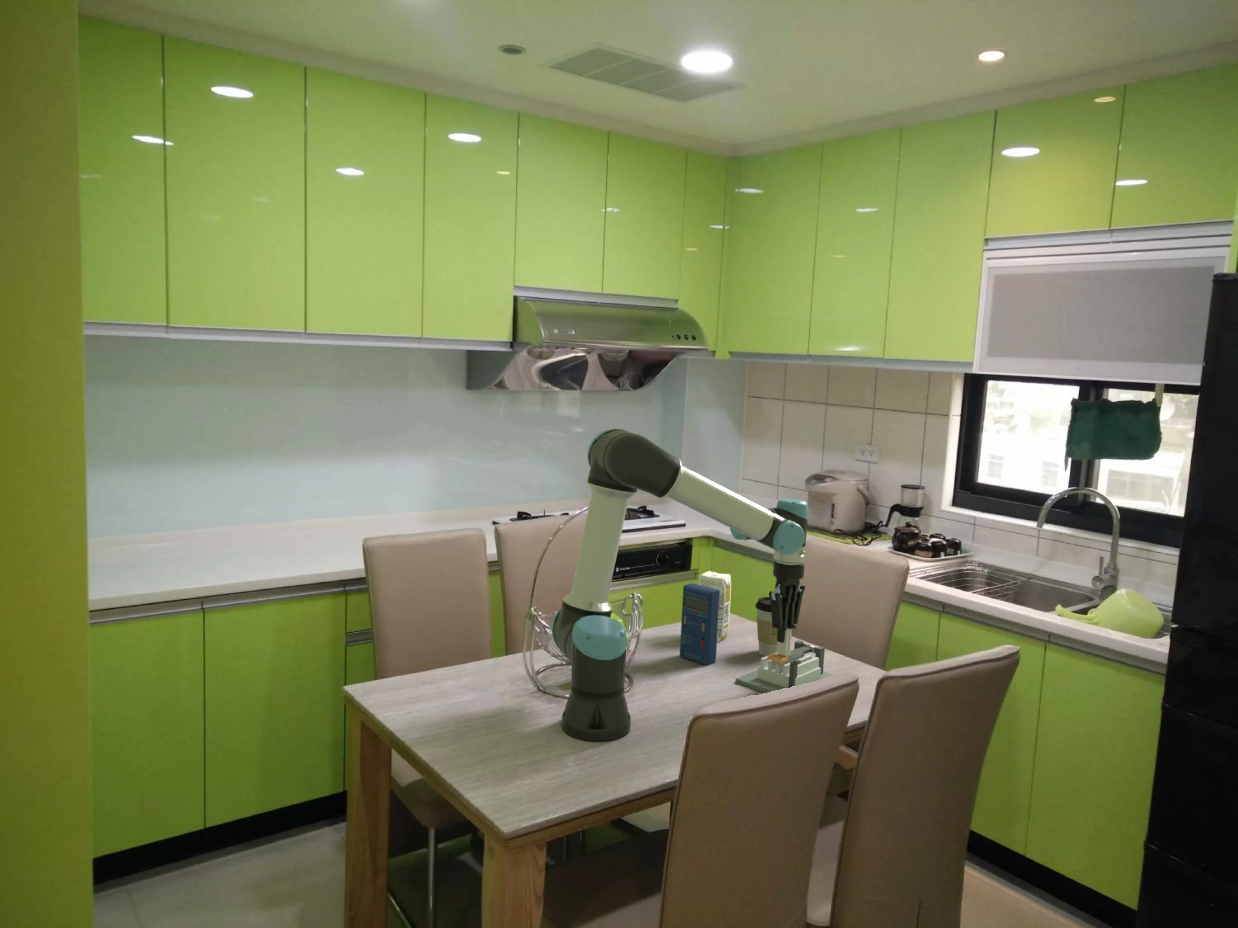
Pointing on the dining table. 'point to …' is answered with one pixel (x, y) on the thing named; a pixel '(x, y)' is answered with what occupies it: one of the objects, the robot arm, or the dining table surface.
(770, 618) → the coffee cup
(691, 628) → the electronic device
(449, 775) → the dining table surface
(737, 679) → the heatsink base
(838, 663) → the dining table surface
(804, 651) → the lever
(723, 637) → the juice carton
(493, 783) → the dining table surface
